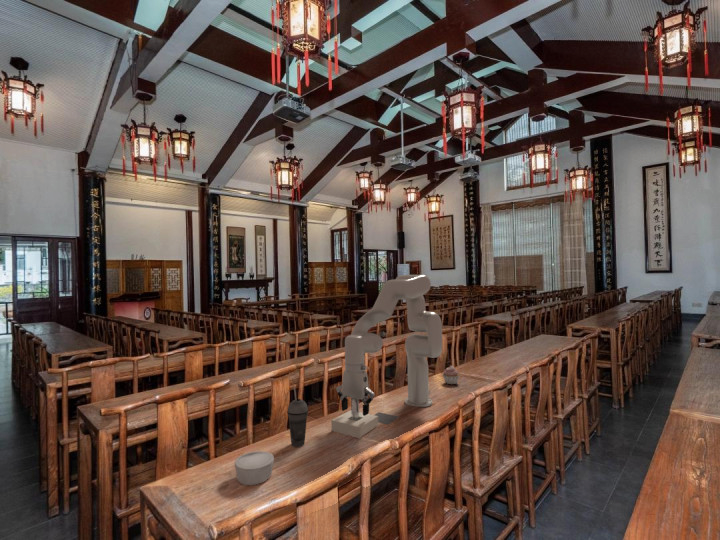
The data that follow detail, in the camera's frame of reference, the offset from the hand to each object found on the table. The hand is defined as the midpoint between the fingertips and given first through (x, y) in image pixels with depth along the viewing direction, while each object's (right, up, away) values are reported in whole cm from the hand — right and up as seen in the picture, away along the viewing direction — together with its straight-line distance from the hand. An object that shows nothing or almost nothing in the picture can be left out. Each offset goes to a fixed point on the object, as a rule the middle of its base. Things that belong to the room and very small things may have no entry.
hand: (355, 412), depth 145 cm
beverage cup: (-20, -6, -13) cm, 25 cm away
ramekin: (-29, -6, -35) cm, 46 cm away
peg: (0, -6, 0) cm, 6 cm away
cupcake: (+52, -8, +61) cm, 80 cm away
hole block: (0, -6, 0) cm, 6 cm away
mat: (+11, -6, +9) cm, 16 cm away
